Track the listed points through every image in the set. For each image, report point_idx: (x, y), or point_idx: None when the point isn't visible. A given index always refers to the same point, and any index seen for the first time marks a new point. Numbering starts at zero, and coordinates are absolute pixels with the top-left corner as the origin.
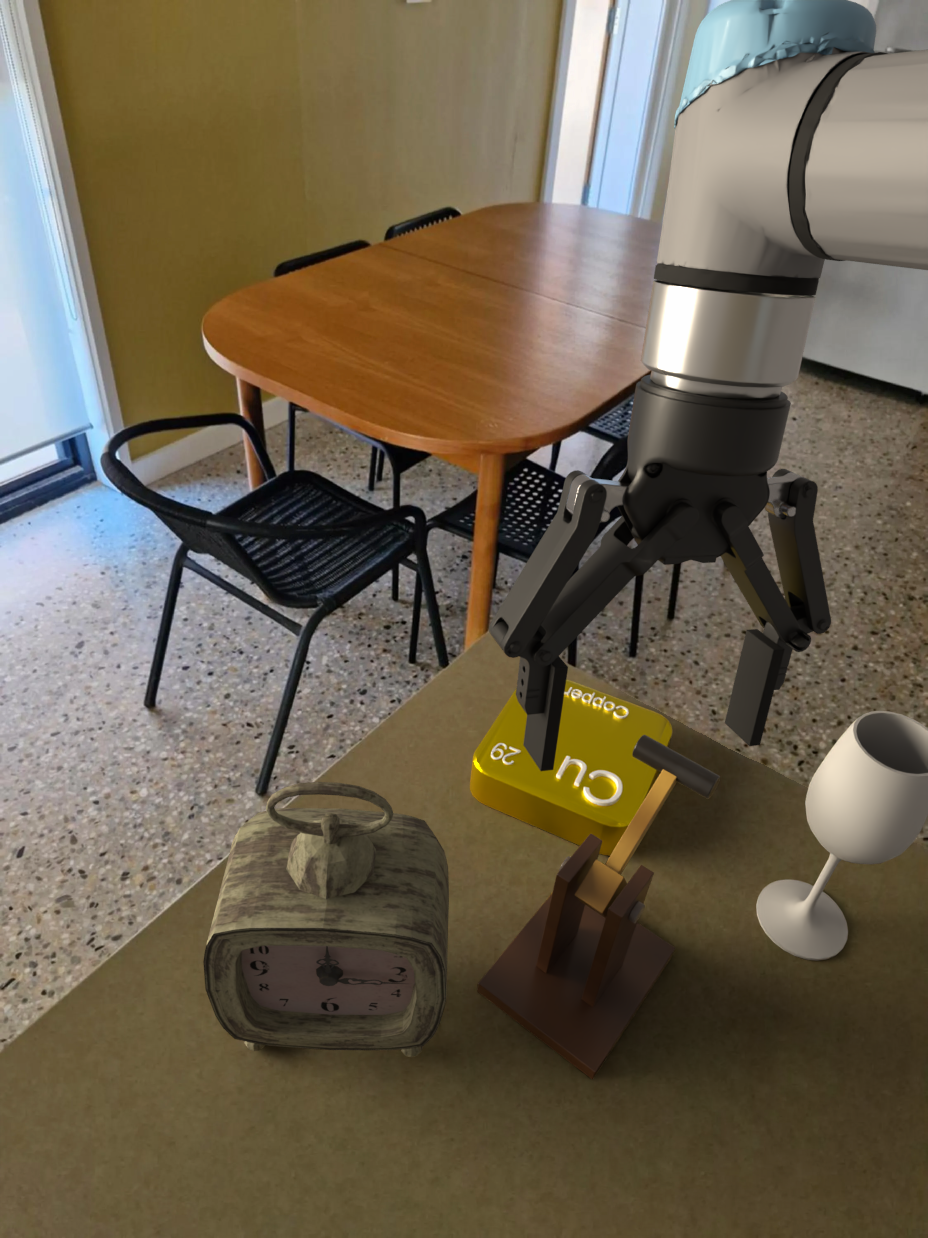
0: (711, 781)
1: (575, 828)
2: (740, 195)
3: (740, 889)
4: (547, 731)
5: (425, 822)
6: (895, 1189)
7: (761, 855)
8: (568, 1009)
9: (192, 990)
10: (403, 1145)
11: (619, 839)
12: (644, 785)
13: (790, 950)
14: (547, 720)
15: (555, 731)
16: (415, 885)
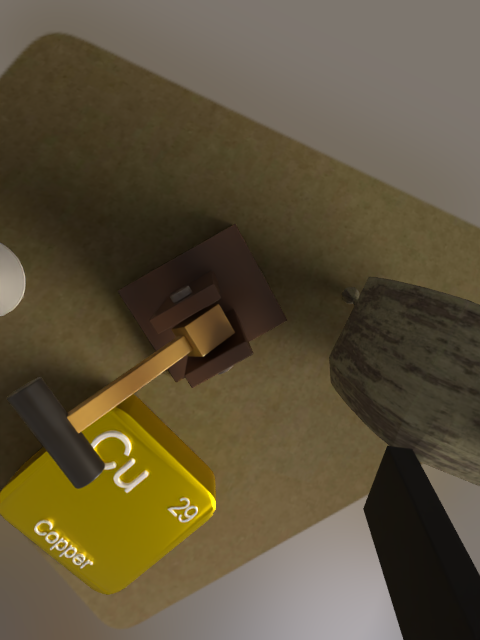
0: (25, 393)
1: (149, 420)
2: None
3: (23, 323)
4: (452, 529)
5: (394, 445)
6: (48, 54)
7: None
8: (230, 276)
9: None
10: (377, 236)
11: None
12: None
13: (12, 255)
14: (471, 560)
15: (429, 525)
16: (459, 369)
